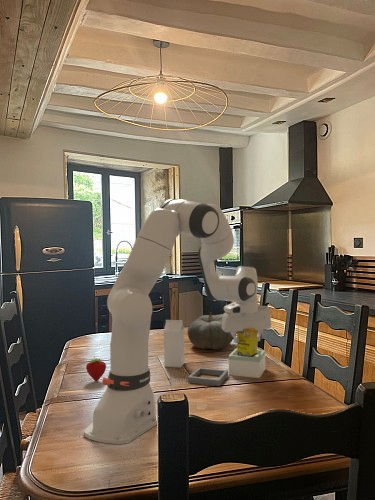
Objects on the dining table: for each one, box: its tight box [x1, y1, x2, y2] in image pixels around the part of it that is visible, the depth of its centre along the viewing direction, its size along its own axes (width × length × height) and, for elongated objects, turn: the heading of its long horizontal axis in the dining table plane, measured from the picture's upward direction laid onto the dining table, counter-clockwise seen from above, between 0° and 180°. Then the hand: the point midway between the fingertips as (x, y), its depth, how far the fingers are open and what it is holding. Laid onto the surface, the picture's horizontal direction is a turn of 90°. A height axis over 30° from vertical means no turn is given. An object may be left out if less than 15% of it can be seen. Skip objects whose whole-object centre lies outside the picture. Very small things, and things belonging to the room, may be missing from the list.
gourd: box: [187, 311, 237, 351], centre depth 198 cm, size 25×25×17 cm
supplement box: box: [236, 328, 258, 357], centre depth 158 cm, size 6×6×11 cm
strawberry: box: [85, 355, 107, 382], centre depth 150 cm, size 6×8×10 cm
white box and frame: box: [187, 347, 266, 387], centre depth 155 cm, size 25×24×8 cm
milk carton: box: [163, 319, 186, 368], centre depth 169 cm, size 7×7×19 cm
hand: (246, 341), depth 158 cm, fingers closed on supplement box, 8 cm apart
